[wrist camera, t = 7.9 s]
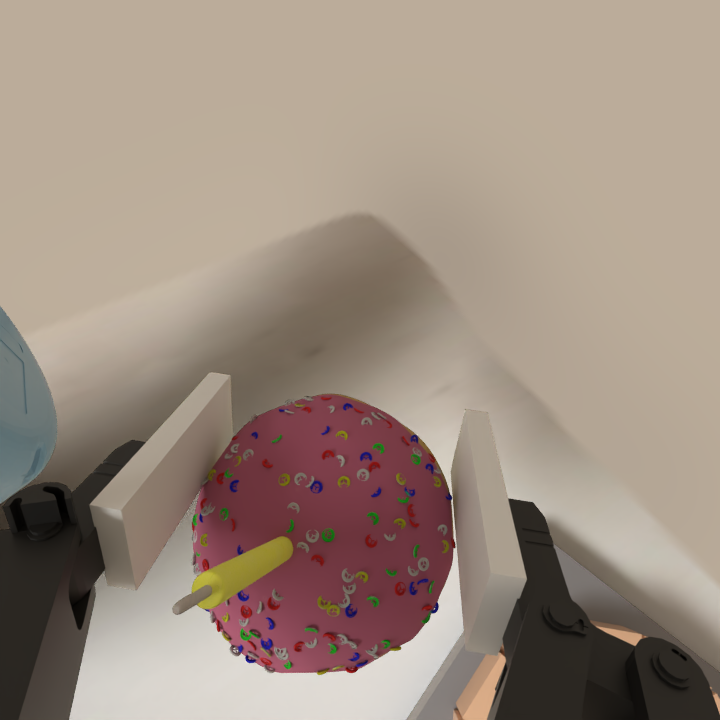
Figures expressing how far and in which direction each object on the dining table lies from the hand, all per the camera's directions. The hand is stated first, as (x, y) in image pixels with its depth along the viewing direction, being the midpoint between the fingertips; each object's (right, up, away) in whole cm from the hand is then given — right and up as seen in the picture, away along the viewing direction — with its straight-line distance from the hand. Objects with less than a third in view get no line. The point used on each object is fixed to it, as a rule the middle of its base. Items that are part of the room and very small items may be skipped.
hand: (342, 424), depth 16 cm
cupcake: (0, -5, +3) cm, 6 cm away
